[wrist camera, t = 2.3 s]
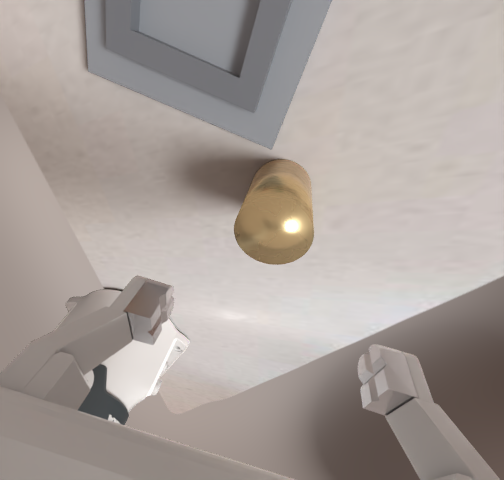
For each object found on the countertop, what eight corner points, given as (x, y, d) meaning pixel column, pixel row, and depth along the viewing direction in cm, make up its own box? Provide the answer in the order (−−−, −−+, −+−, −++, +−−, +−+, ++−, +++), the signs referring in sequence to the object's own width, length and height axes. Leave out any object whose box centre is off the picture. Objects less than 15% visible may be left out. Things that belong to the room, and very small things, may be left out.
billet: (294, 222, 23) (292, 274, 17) (244, 201, 22) (225, 248, 17) (322, 173, 20) (329, 218, 14) (264, 149, 19) (249, 184, 14)
